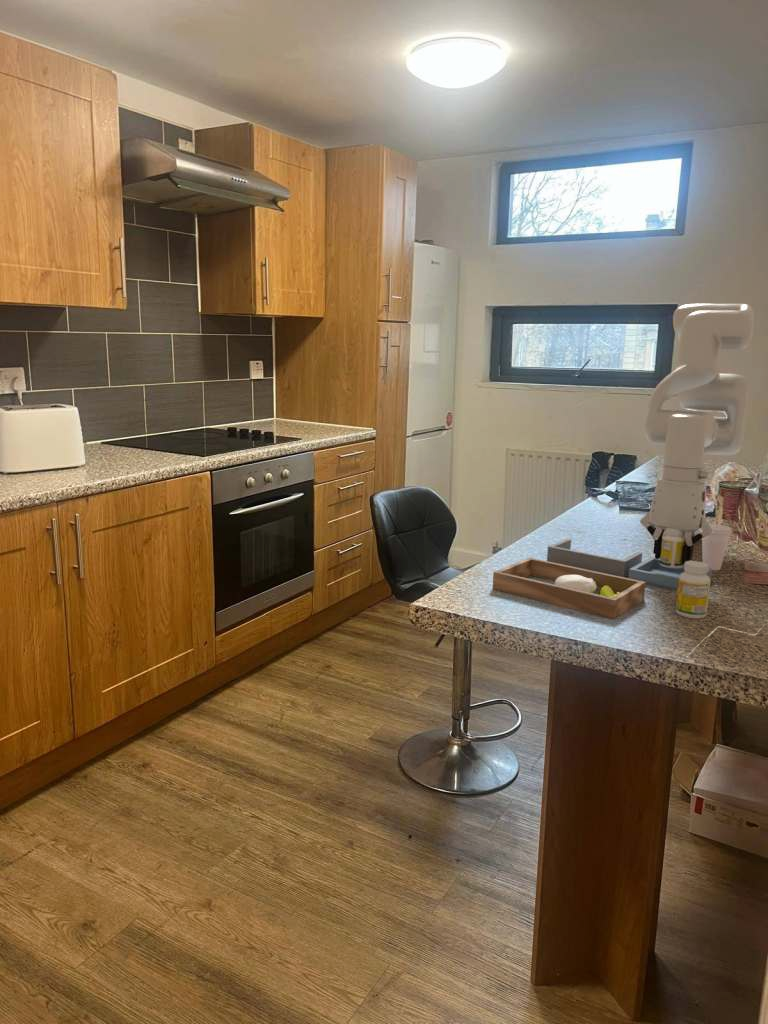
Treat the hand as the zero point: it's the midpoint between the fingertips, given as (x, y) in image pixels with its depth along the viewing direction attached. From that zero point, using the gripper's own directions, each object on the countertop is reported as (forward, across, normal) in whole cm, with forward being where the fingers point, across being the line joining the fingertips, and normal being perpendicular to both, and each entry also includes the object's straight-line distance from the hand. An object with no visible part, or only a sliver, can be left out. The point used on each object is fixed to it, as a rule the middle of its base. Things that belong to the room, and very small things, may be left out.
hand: (672, 559), depth 154 cm
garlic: (+5, +11, +22) cm, 26 cm away
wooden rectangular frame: (+5, +12, +24) cm, 27 cm away
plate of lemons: (+5, +4, +21) cm, 22 cm away
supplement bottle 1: (+2, 0, 0) cm, 2 cm away
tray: (+5, 0, 0) cm, 5 cm away
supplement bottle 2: (+5, -10, +19) cm, 22 cm away
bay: (+5, +17, 0) cm, 18 cm away
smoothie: (+5, -4, -16) cm, 17 cm away
